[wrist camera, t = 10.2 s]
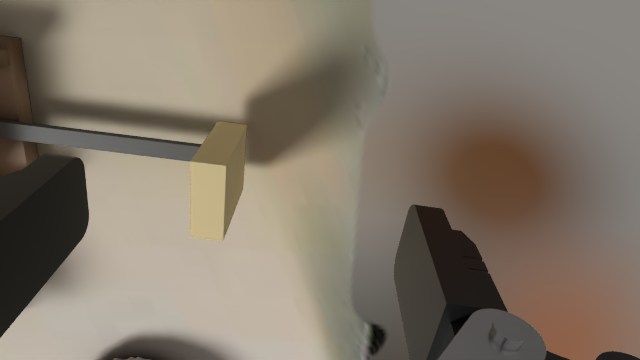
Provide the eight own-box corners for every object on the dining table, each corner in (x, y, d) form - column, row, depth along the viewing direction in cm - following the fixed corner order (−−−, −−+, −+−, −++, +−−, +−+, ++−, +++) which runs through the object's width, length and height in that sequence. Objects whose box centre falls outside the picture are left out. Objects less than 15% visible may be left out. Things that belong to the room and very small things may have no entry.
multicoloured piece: (-138, 53, 31) (-264, 79, 24) (248, 103, 32) (227, 140, 25) (-106, 163, 34) (-208, 211, 28) (242, 205, 35) (222, 261, 29)
